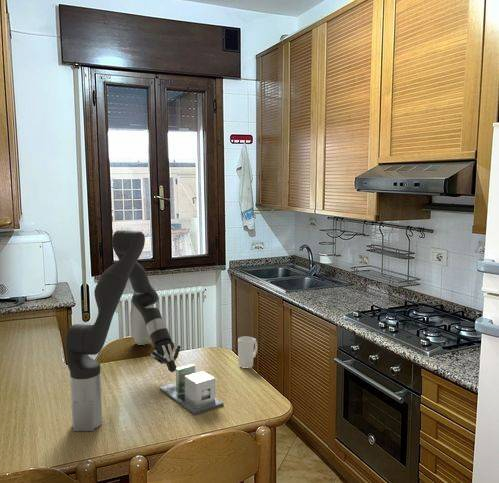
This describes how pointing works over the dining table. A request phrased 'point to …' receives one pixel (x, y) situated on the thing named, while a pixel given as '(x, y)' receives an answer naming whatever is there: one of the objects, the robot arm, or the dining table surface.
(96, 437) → the dining table surface
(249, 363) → the mug
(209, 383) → the bearing block
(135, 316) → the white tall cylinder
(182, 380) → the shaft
